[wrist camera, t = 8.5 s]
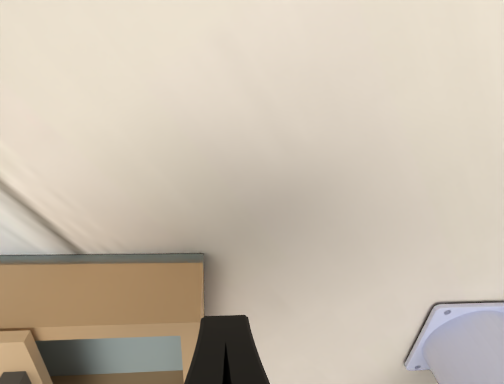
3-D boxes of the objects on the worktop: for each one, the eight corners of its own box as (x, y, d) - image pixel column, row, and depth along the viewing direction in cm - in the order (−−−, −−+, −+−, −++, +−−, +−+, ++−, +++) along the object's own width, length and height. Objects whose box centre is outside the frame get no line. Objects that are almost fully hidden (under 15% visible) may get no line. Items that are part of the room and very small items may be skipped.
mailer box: (203, 253, 21) (200, 322, 17) (205, 366, 27) (202, 437, 23) (-160, 257, 19) (-270, 337, 15) (-68, 379, 25) (-126, 459, 21)
